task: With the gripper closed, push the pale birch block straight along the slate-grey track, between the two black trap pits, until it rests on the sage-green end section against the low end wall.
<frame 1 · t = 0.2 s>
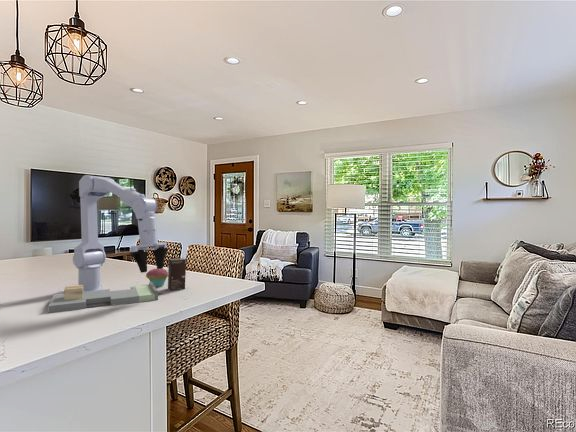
hand: (152, 270, 111), 10 cm above the counter, tool pointing down, fingers open, 7 cm apart
block: (73, 297, 106), point 2 cm above the counter, touching track
box: (176, 289, 128), on the counter
cupcake: (157, 286, 133), on the counter
track: (105, 300, 111), on the counter
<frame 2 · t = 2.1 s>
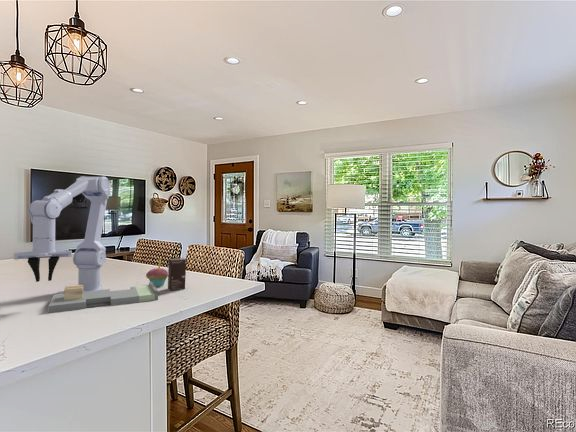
hand: (43, 280, 102), 8 cm above the counter, tool pointing down, fingers closed
nothing on the counter moved.
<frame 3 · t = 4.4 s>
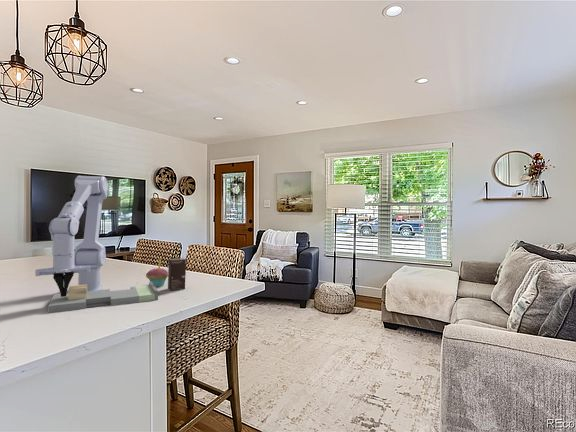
hand: (63, 295, 105), 3 cm above the counter, tool pointing down, fingers closed
block: (78, 297, 107), point 2 cm above the counter, touching track
everything else where it was.
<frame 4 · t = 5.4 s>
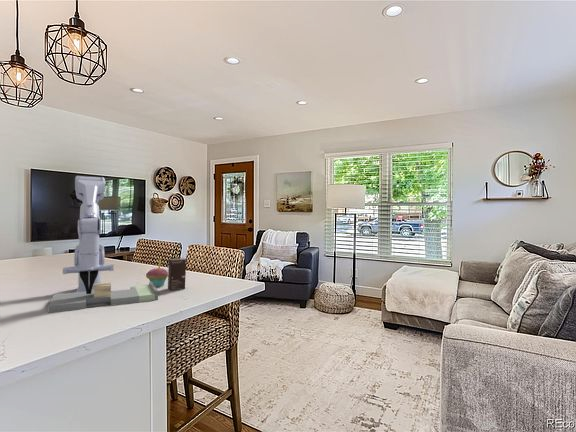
hand: (88, 293, 108), 3 cm above the counter, tool pointing down, fingers closed
block: (102, 294, 110), point 2 cm above the counter, touching gripper
everything else where it was.
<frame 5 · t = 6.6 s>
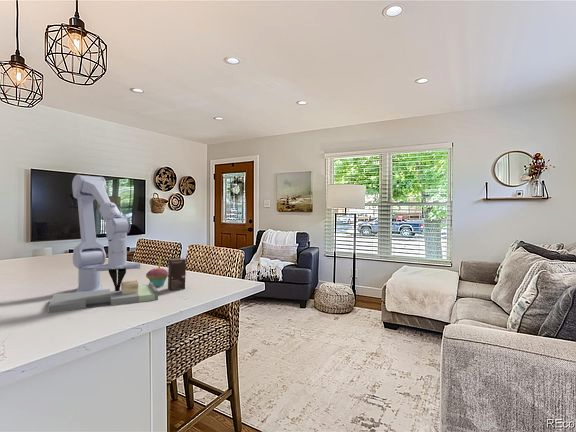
hand: (117, 290, 112), 3 cm above the counter, tool pointing down, fingers closed
block: (129, 291, 114), point 2 cm above the counter, touching gripper, track
everything else where it was.
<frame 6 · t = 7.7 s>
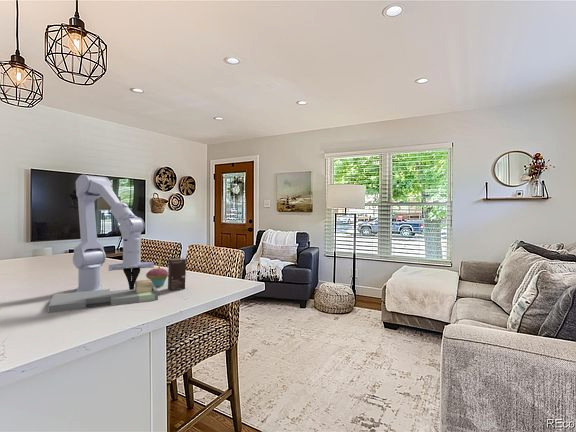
hand: (131, 289, 115), 3 cm above the counter, tool pointing down, fingers closed
block: (143, 290, 117), point 2 cm above the counter, touching gripper, track
everything else where it was.
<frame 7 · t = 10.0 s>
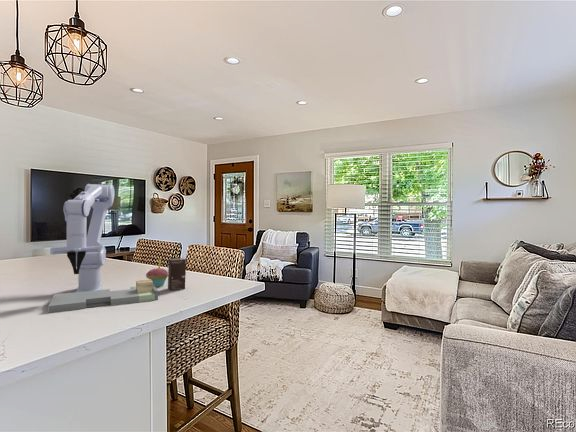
hand: (76, 273, 111), 9 cm above the counter, tool pointing down, fingers closed
block: (144, 290, 117), point 2 cm above the counter, touching track
everything else where it was.
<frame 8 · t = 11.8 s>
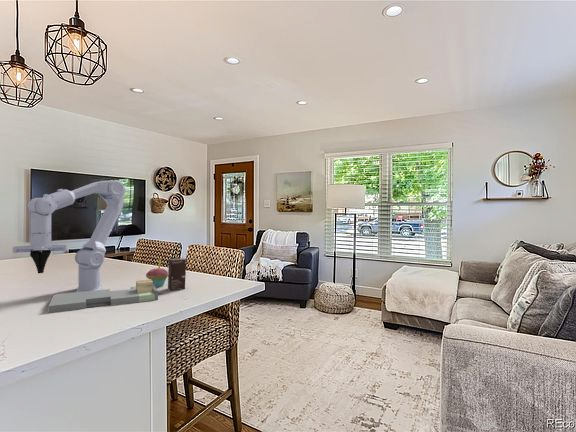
hand: (40, 272, 109), 9 cm above the counter, tool pointing down, fingers closed
nothing on the counter moved.
at the end: block 0.4 cm from the target spot on the track, point 2.0 cm above the track's base; block tilted 0° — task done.
